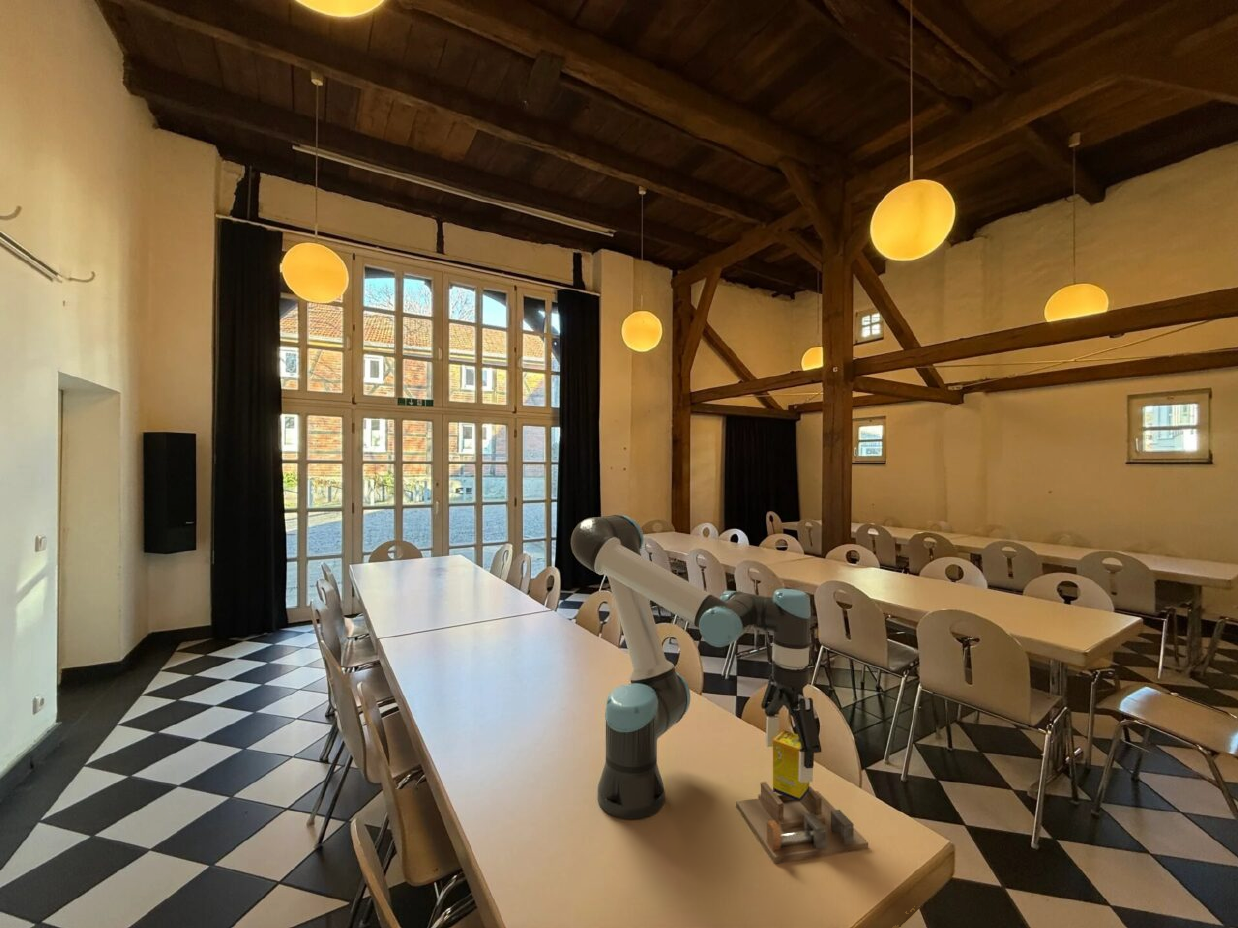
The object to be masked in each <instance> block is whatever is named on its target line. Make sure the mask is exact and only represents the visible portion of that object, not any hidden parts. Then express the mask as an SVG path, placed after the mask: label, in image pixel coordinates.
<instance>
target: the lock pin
mask: <svg viewBox="0 0 1238 928" xmlns="http://www.w3.org/2000/svg"><path fill="white" fill-rule="evenodd" d="M826 838H827V835H826ZM811 841H814V830H806V831H799V832H792V833H785V834H781V828H780V827H779V825H778V824H777V823H776V822H775V820H772V821H767V843H768V844H769V846H770V847H771V849H772V850H773V851H775V850H781V846H784V845H791V844H798V843H804V842H811Z"/></svg>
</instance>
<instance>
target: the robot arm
mask: <svg viewBox="0 0 1238 928" xmlns="http://www.w3.org/2000/svg"><path fill="white" fill-rule="evenodd" d="M643 544H644V533H643V530H642V528H641V526H640V524H639V523H638V522H637V521H636V520H635V519H633V518H632V517H629V516H627V515H624V514H623V515H620V514H613V515H606V516H598V517H588V518H586V519H584V520H582V521H580V522H579V523H578V524H577V525H576V526H575V528H574V529H573V531H572V534H571V537H570V547H571V552H572V554H573V555H574V557H575V558H576V560H577V561H578V562H579V563H580V564H581V565H583V566H584V567H586V568H588V569H589V570H591V571H593V573H596V574H598V575H599V576H602V575H603V576H606V577H607V579H608V583H609V586H610V590H611V594H612V597H613V601H614V604H615V608H616V612H617V615H618V619H619V622H620V626H621V629H622V632H623V636H624V641H625V645H626V646H627V651H628V654H629V658H630V663H631V664H632V672H631V674H630V676H629V681H630V683H628V684H627V685H626V684H623V685H620V686H618V687H616V688H615V689H613V690H612V691H611V692H610V693H609V695H608V696H607V698H606V704H605V705H606V706H605V712H604V718H605V762H604V766H603V769H602V773H601V775H600V778H599V781H598V785H597V803H598V805H599V806H600V808H601V809H602V810H604V812H605V813H608V814H609V815H611V816H613V817H616V818H620V819H624V820H625V819H626V820H641V819H645V818H649V817H651V816H653V815H655V814H657V813H658V812H659V811H660V810H661V809H662V807H663V806H664V805H665V795H666V793H665V791H666V790H665V785H664V783H663V782H664V781H663V778H662V775H661V772H660V770H659V769H660V768H659V766H658V759H657V758H658V739H659V738H660V737H661V736H663V735H664V734H665V733H666V732H668V730H670V729H671V728H673V726H674V725H677V723H679V722H680V721H681V720H682V719H683V717H684V716H685V715H686V713H687V712H688V710H689V707H690V703H691V691H690V686H689V685H688V683H687V681H686V678H684V677H683V676H681V674H680V673H679V672H677V671H676V668H675V665H674V664H673V662H671V661H669V660H667V658H666V656H665V652H664V650H663V646H662V642H661V637H660V635H659V631H658V629H657V624H656V621H655V619H654V615H653V611H652V608H651V604H650V601H651V602H653V603H655V604H657V605H659V607H662V608H663V609H665V610H667V611H669V612H670V613H672V614H674V615H675V616H677V617H679V618H680V619H682V620H684V621H686V622H687V623H688V624H691V625H692V626H694V627H695V628H697V629H698V630H699V633H700V635H701V636H702V638H703V639H704V641H705V642H706V643H707V644H708V645H709V646H712V647H716V648H722V647H726V646H729V645H732V644H734V643H735V642H736V641H738V639H739V638H741V637H742V636H743V635H744V634H746V633H747V632H749V631H750V630H757V631H760V632H761V631H762V632H767V633H772V636H773V637H772V654H771V660H772V662H771V674H769V675H768V684H767V687H766V690H765V692H764V694H763V698H762V701H761V705H760V707H761V708H762V710H764V714H765V716H766V728H765V729H766V731H765V733H766V735H765V745H766V747H767V748H771V747H772V748H773V739H774V738H775V737H776V736H777V735H778V734H779V733H780V717H779V715H780V711H781V709H782V708H783V707H784V706H785V708H786V710H787V711H788V714H789V716H791V717H792V720H793V723H794V727H795V730H796V734H798V737H799V740H800V743H801V747H802V748H799V779H798V781H799V782H800V783H806V782H809V783H813V780H814V775H813V774H814V765H815V764H814V761H815V759H814V757H815V754H821V753H822V745H821V740H820V736H819V731H818V726H817V721H816V717H815V712H814V700H813V698H812V697H806V696H805V695H804V694H805V693H804V688H805V687H806V686H808V685H809V681H810V680H809V678H810V675H809V673H810V670H809V669H810V668H809V666H808V665H809V663H810V662H809V661H810V633H811V632H810V629H811V617H812V614H811V606H810V605H811V604H810V602H811V601H810V600H811V599H810V598H811V597H810V596H809V594H807V593H806V592H805V591H802V590H799V589H793V588H778V589H776V590H775V591H774V592H773V596H768V595H767V596H766V595H760V594H754V593H749V592H743V591H742V590H741V591H739V590H736V591H735V590H725V591H723V592H722V594H721V596H720V597H717V596H715V595H713V594H711V593H710V592H708V591H706V590H705V589H702V588H701V587H698V586H697V585H695V584H693V583H692V582H689V581H687V580H685V579H684V578H683V577H681V576H678V575H677V574H674V573H673V572H671V571H669V570H668V569H666V568H663V567H662V566H660V565H658V564H656V563H655V562H653V561H651V560H649V559H647V558H645V557H644V556H642V552H641V550H642V547H643Z"/></svg>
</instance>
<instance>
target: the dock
mask: <svg viewBox="0 0 1238 928" xmlns="http://www.w3.org/2000/svg"><path fill="white" fill-rule="evenodd" d="M757 797H758V798H753V799H744V800H736V801H735V808H736V809H737V811H738V813H739V814H740V815H741V817H742V818H743V820H744V821H745V823H746V824H747V825H748V827H749V828H750V830H751V832H752V833H753V834H754V835H755V837H756V838H757V840H758V842H759V843H760V844H761V846H762V848H763V849H764V851H765V852H766V853H767V855H768V856H769V858H770V860H771V861H772V862H773V864H775V865H776V864H779V863H780V864H782V863H787V862H794V861H800V860H806V859H812V858H820V857H826V856H833V855H838V854H843V853H851V852H857V851H864V850H868V849H869V842H868V840H867V839H865V837H864V836H862V835H861V834H860V833H859V832H858V831H857V829H856V828H855V827H854V822H852V821H851V819H849V817H848V816H846V815H845V814H844V813H843V812H842V811H841V809H836V808H835V807H834V805H832V804H831V803H830V802H829V801H828V799H826V798H825V796H824V795H822V794H821V793H820V791H818V790H815V789H814V788H812V786H811V785H809V790H808V791H807V793H806V794H805V796H804V797H803V798H802V800H801V801H800V802H799V801H796V800H794V799H791V798H789V797H786V796H784V795H781V794H779V793H776V792H774V791H773V788H772V787H771V786H770V785H769V784H768V783H767V781H762V782H760V793H759V794H758V796H757ZM772 820H775V822H776V823H777V824H778V825H779V827H780V828H781V834H785V833H792V832H799V831H806V830H814V841H811V842H804V843H798V844H791V845H784V846H781V850H775V851H773V850H772V849H771V847H770V846H769V844H768V843H767V821H772ZM826 835H827V838H826Z"/></svg>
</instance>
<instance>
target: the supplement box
mask: <svg viewBox="0 0 1238 928" xmlns="http://www.w3.org/2000/svg"><path fill="white" fill-rule="evenodd" d="M799 748H802V747H801V743H800V740H799V737H798V733H794V732H791V731H789V730H785V729H782V730H781V731H780V732H779V734H778V735H777V736H776V737H775V738H774V739H773V747H772V790H773V791H774V792H776V793H779V794H781V795H784V796H786V797H789V798H791V799H794V800H796V801H799V802H800V801H801V800H802V798H803V797H804V796H805V794H806V793H807V791H808V790H809V786H810V782H806V783H800V782H799V781H798V779H799Z"/></svg>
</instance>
